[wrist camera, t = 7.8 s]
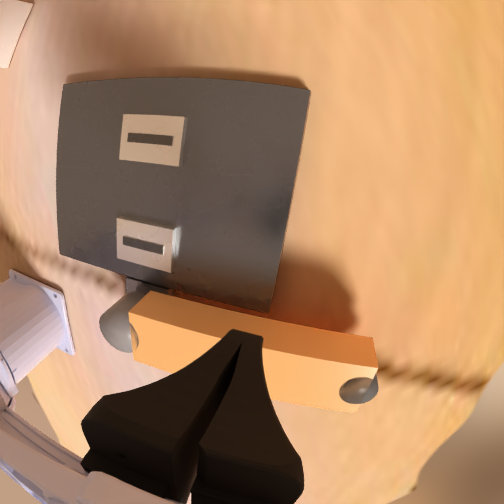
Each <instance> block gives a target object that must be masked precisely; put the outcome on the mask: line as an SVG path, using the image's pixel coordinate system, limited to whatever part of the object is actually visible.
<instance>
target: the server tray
mask: <svg viewBox="0 0 504 504" xmlns="http://www.w3.org/2000/svg"><path fill="white" fill-rule="evenodd" d="M310 96H311V90H307V89H301V88H295V87H288V86H282V85H274V84H267V83H258V82H249V81H239V80H226V79H211V78H186V77H149V78H124V79H109V80H98V81H88V82H79V83H71V84H64V85H63V91H62V99H61V107H60V117H59V128H58V143H57V168H56V199H57V224H58V239H59V251H60V254H61V255H64V256H67V257H70V258H73V259H76V260H79V261H82V262H85V263H88V264H91V265H94V266H97V267H101V268H104V269H107V270H110V271H113V272H117V273H120V274H123V275H126V276H127V277H126V294H127V293H128V292H132V291H136V292H140V293H142V294H144V295H147V294H148V293H149V292H150V291H155V292H158V293H162V294H166V295H170V296H173V292H174V289H175V290H178V291H182V292H185V293H189V294H193V295H197V296H200V297H204V298H208V299H212V300H215V301H219V302H223V303H227V304H231V305H235V306H239V307H243V308H247V309H251V310H255V311H260V312H264V313H268V314H269V311H270V307H271V303H272V299H273V294H274V289H275V284H276V279H277V275H278V270H279V265H280V260H281V255H282V250H283V245H284V240H285V235H286V230H287V225H288V220H289V215H290V209H291V204H292V199H293V193H294V188H295V183H296V177H297V172H298V166H299V161H300V155H301V149H302V144H303V138H304V132H305V126H306V120H307V115H308V109H309V102H310Z"/></svg>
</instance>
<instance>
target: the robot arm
mask: <svg viewBox="0 0 504 504" xmlns="http://www.w3.org/2000/svg"><path fill="white" fill-rule="evenodd" d="M8 273H9V279H7V280H5V281H3V282H2V283H0V468H1V469H2V470H3V471H4V472H5V473H6V474H7V475H8V476H10V477H11V478H12V479H13V480H14V481H15V482H16V483H18V484H19V485H20V486H21V487H22V488H24V489H25V490H26V491H27V492H29V493H30V494H31V495H32V496H33V497H35V498H36V499H37V500H39V501H40V502H41V503H43V504H186V503H187V500H188V497H189V495H190V492H191V504H294V503H295V502H296V500H297V499H298V498H299V497H300V496H301V494H302V492H303V490H304V473H303V466H302V461H301V458H300V456H299V455H298V453H297V452H296V450H295V449H294V447H293V446H292V444H291V443H290V441H289V439H288V437H287V436H286V434H285V432H284V430H283V428H282V426H281V424H280V422H279V419H278V417H277V415H276V413H275V410H274V407H273V405H272V402H271V399H270V395H269V392H268V388H267V384H266V379H265V374H264V367H263V357H262V346H263V340H264V338H263V337H262V336H260V335H256V334H252V333H248V332H244V331H240V330H236V329H231V330H230V331H229V332H228V333H227V334H226V335H225V336H224V337H223V338H222V339H221V340H220V341H218V342H217V343H216V344H215V345H214V346H213V347H212V348H210V349H209V350H208V351H207V352H205V353H204V354H203V355H201V356H200V357H199V358H197V359H196V360H194V361H193V362H191V363H190V364H189V365H187V366H185V367H184V368H182V369H180V370H179V371H177V372H175V373H173V374H171V375H169V376H167V377H165V378H163V379H161V380H158V381H156V382H154V383H151V384H148V385H145V386H142V387H139V388H136V389H133V390H130V391H126V392H121V393H116V394H111V395H105V396H103V397H102V398H101V399H100V400H99V401H98V402H97V403H96V404H95V405H94V406H93V407H92V409H91V410H90V411H89V412H88V414H87V415H86V416H85V417H84V419H83V420H82V423H81V426H82V430H83V433H84V435H85V438H86V440H87V442H88V444H89V446H90V450H89V451H88V453H87V454H86V455H85V457H84V458H81V457H79V456H78V455H76V454H74V453H73V452H71V451H69V450H68V449H66V448H65V447H63V446H61V445H60V444H58V443H57V442H55V441H54V440H52V439H51V438H49V437H48V436H46V435H45V434H43V433H42V432H40V431H39V430H38V429H36V428H35V427H33V426H32V425H31V424H29V423H28V422H27V421H25V420H24V419H23V418H21V417H20V416H19V415H18V414H16V413H15V412H14V410H15V405H16V400H15V398H14V395H15V394H16V393H17V392H18V391H19V390H18V388H17V387H16V384H17V383H18V382H20V381H21V380H22V379H23V378H24V377H25V376H26V375H27V374H28V373H29V372H30V371H31V370H32V369H33V368H34V367H36V366H37V365H38V364H39V363H40V362H41V361H42V360H43V359H44V358H45V357H46V356H47V355H49V354H50V353H51V352H52V351H53V350H54V349H55V348H58V349H60V350H62V351H64V352H66V353H68V354H70V355H72V356H73V355H74V354H75V349H74V345H73V341H72V336H71V331H70V327H69V322H68V316H67V311H66V305H65V299H64V295H63V293H62V292H61V291H59V290H56V289H54V288H52V287H49V286H47V285H45V284H43V283H40V282H38V281H36V280H34V279H32V278H29V277H27V276H25V275H23V274H21V273H19V272H17V271H15V270H13V269H10V270H9V272H8Z"/></svg>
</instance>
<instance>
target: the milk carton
mask: <svg viewBox="0 0 504 504" xmlns="http://www.w3.org/2000/svg"><path fill="white" fill-rule="evenodd" d="M32 6H33V4H32V3H28V2H24V1H19V0H0V68H8V67H9V64H10V61H11V58H12V56H13V53H14V50H15V47H16V45H17V42H18V39H19V37H20V34H21V32H22V29H23V27H24V24H25V22H26V20H27V17H28V15H29V13H30V11H31V9H32Z"/></svg>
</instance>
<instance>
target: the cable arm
mask: <svg viewBox="0 0 504 504" xmlns="http://www.w3.org/2000/svg"><path fill="white" fill-rule="evenodd" d="M99 324H100V329H101V332H102V334H103V336H104V337H105V339H106V340H107V341H108V342H109V343H110V344H111V345H112V346H113V347H114V348H116V349H118V350H120V351H122V352H127V353H130V352H133V357H134V360H135V361H138V362H141V363H144V364H147V365H149V366H152V367H155V368H158V369H161V370H164V371H167V372H170V373H175V372H177V371H179V370H180V369H182V368H184V367H185V366H187V365H189V364H190V363H191V362H193V361H194V360H196V359H197V358H199V357H200V356H201V355H203V354H204V353H205V352H207V351H208V350H209V349H210V348H212V347H213V346H214V345H215V344H216V343H217V342H218V341H220V340H221V339H222V338H223V337H224V336H225V335H226V334H227V333H228V332H229V331H230V330H231V329H236V330H240V331H244V332H248V333H252V334H256V335H260V336H262V337H263V338H264V340H263V346H262V357H263V367H264V374H265V379H266V384H267V388H268V392H269V395H270V399H273V400H278V401H283V402H288V403H293V404H299V405H305V406H311V407H317V408H323V409H330V410H337V411H345V412H353V413H356V411H357V409H358V407H359V406H360V404H362V403H365V402H368V401H370V400H371V399H373V398H374V397H375V396H376V394H377V392H378V382H377V375H376V372H377V369H378V364H377V359H376V353H375V348H374V342H373V338H371V337H365V336H358V335H352V334H346V333H341V332H335V331H329V330H324V329H318V328H313V327H308V326H302V325H297V324H292V323H287V322H282V321H277V320H272V319H268V318H263V317H258V316H254V315H249V314H244V313H240V312H236V311H231V310H227V309H222V308H218V307H214V306H210V305H206V304H201V303H197V302H193V301H189V300H185V299H181V298H177V297H174V296H170V295H166V294H162V293H158V292H155V291H150V292H149V293H148V294H147V295H144V294H142V293H140V292H136V291H132V292H128V293H127V294H125V295H124V296H123V297H122V298H121V299H120V300H119V301H117V302H116V303H115V304H114V305H113V306H112V307H110V308H109V309H108V310H107V311H106V312H105V313H104V314H103V315H102V316H101V317H100V321H99Z"/></svg>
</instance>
